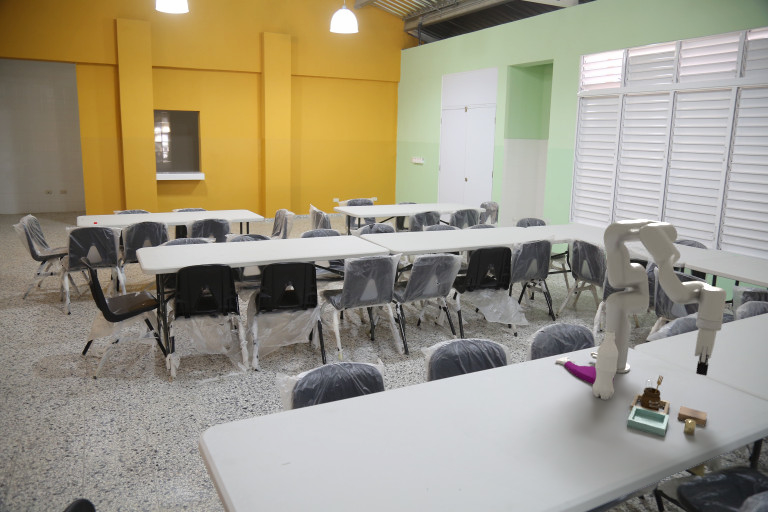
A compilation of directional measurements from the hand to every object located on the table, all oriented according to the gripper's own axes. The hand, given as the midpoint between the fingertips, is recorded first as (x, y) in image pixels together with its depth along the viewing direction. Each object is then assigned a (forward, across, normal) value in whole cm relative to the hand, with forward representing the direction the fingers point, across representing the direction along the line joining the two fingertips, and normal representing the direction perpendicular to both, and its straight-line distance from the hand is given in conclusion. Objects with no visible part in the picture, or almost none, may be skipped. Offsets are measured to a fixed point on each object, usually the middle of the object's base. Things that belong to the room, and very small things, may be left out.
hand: (701, 373), depth 198 cm
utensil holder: (+13, +9, -14) cm, 21 cm away
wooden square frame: (+13, +9, -14) cm, 21 cm away
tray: (+13, +21, -13) cm, 28 cm away
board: (+14, +8, -1) cm, 16 cm away
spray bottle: (+13, -8, -41) cm, 44 cm away
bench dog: (+13, +19, -1) cm, 23 cm away
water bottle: (+13, +9, -30) cm, 34 cm away
